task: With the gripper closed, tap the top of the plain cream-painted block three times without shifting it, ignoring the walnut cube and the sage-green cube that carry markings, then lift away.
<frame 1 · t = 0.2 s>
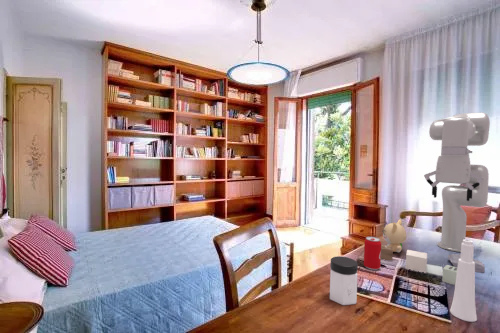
hand: (451, 198, 97), 30 cm above the table, tool pointing down, fingers open, 9 cm apart
kitten: (393, 251, 127), on the table
walnut cube: (385, 258, 118), on the table
beverage can: (371, 268, 107), on the table
cosmetic bottle: (463, 316, 76), on the table
jar: (342, 298, 84), on the table
cream block: (415, 268, 108), on the table
stone block: (463, 267, 111), on the table
sage cube: (452, 282, 97), on the table
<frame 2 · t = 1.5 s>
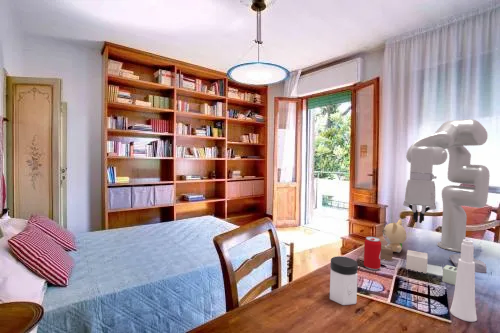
hand: (418, 221, 107), 19 cm above the table, tool pointing down, fingers closed
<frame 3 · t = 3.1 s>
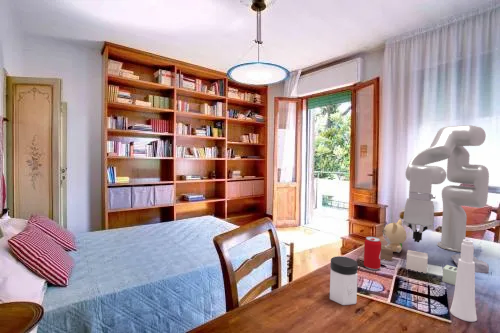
hand: (417, 241, 107), 11 cm above the table, tool pointing down, fingers closed
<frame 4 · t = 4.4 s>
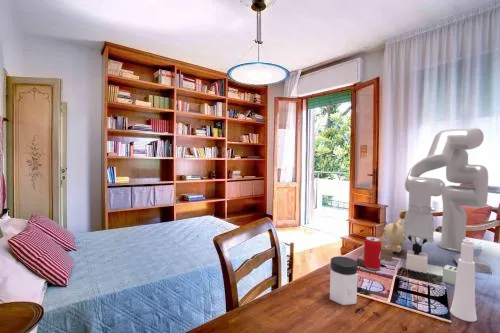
hand: (416, 253, 108), 6 cm above the table, tool pointing down, fingers closed
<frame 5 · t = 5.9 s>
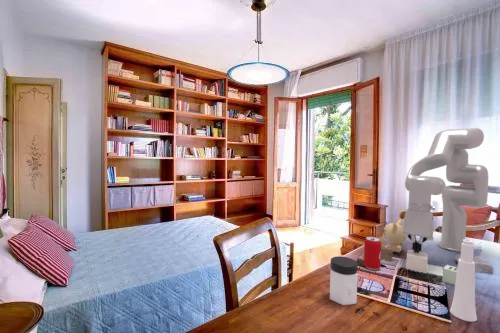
hand: (416, 252, 108), 7 cm above the table, tool pointing down, fingers closed
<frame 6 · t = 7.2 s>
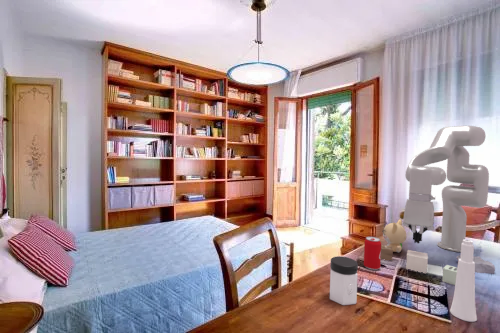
hand: (417, 242, 107), 11 cm above the table, tool pointing down, fingers closed
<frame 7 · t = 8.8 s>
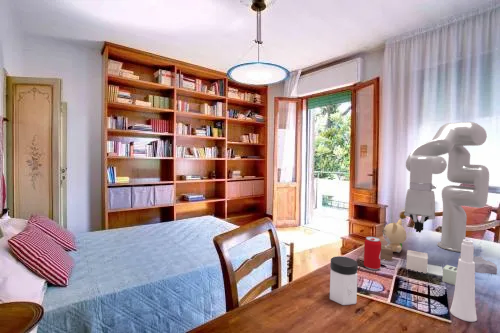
hand: (418, 231, 108), 15 cm above the table, tool pointing down, fingers closed
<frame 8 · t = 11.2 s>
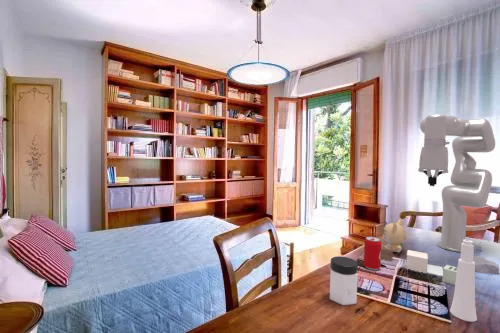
hand: (432, 185, 115), 33 cm above the table, tool pointing down, fingers closed
at the end: cream block moved 0.3 cm from its start; cream block tilted 0°; cream block touching table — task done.
